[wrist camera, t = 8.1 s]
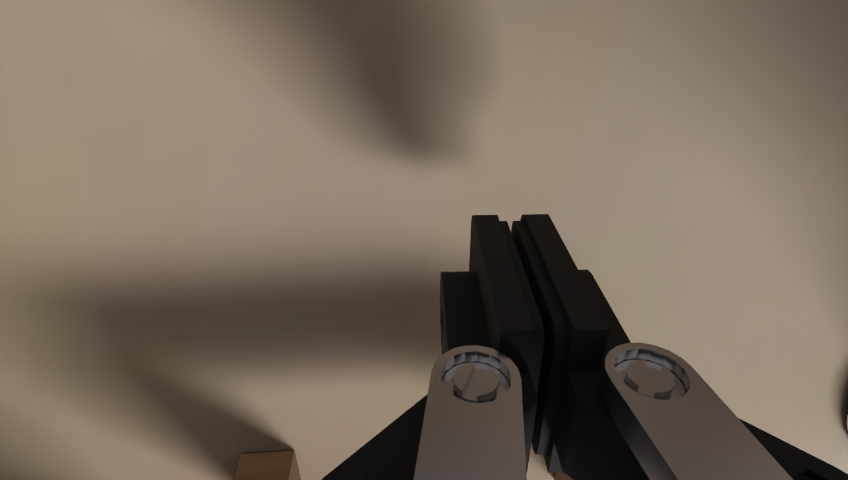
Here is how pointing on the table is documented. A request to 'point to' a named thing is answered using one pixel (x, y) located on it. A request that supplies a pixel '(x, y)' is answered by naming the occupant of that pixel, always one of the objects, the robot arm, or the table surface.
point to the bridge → (285, 467)
